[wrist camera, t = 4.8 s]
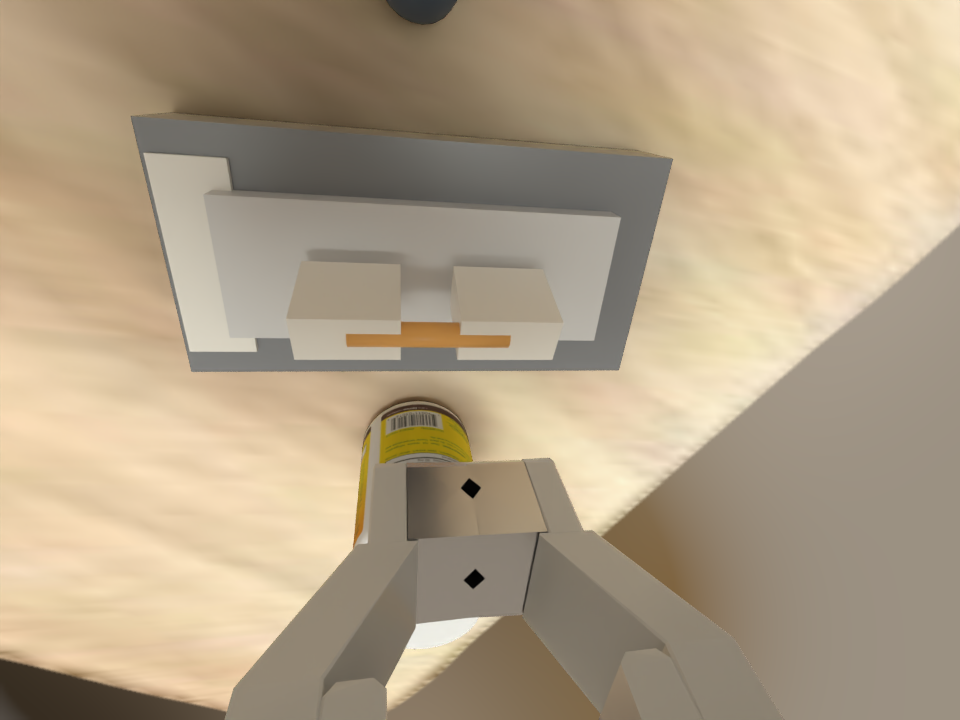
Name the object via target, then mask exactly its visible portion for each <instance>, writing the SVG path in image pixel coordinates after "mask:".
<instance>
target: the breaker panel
mask: <svg viewBox="0 0 960 720" xmlns="http://www.w3.org/2000/svg"><path fill="white" fill-rule="evenodd" d="M131 120H132V124H133V128H134V132H135V136H136V141H137V145H138V149H139V153H140V157H141V162H142V166H143V170H144V174H145V178H146V183H147V187H148V191H149V195H150V199H151V204H152V208H153V212H154V216H155V220H156V225H157V229H158V233H159V237H160V241H161V246H162V250H163V254H164V258H165V262H166V267H167V271H168V275H169V279H170V283H171V288H172V292H173V296H174V300H175V304H176V309H177V313H178V317H179V321H180V325H181V330H182V334H183V338H184V342H185V346H186V351H187V355H188V359H189V363H190V367H191V371H192V372H253V371H549V370H619V368H620V364H621V360H622V356H623V352H624V348H625V344H626V340H627V336H628V333H629V329H630V325H631V321H632V317H633V313H634V309H635V305H636V301H637V297H638V294H639V290H640V286H641V282H642V278H643V274H644V270H645V266H646V262H647V258H648V254H649V251H650V247H651V243H652V239H653V235H654V231H655V227H656V223H657V219H658V215H659V211H660V208H661V204H662V200H663V196H664V192H665V188H666V184H667V180H668V176H669V172H670V169H671V165H672V161H673V159H671V158H667V157H663V156H658V155H654V154H650V153H646V152H642V151H637V150H624V149H612V148H600V147H588V146H575V145H563V144H551V143H538V142H526V141H514V140H501V139H489V138H477V137H464V136H452V135H440V134H428V133H415V132H403V131H391V130H378V129H366V128H354V127H341V126H329V125H317V124H305V123H292V122H280V121H268V120H255V119H243V118H231V117H218V116H206V115H194V114H181V113H161V114H149V115H137V116H131ZM301 261H319V262H348V263H377V264H401V322H452V315H451V307H450V298H451V287H452V277H453V266H465V267H494V268H523V269H543V271H544V273H545V276H546V279H547V281H548V284H549V286H550V289H551V291H552V294H553V297H554V299H555V302H556V304H557V307H558V309H559V312H560V315H561V317H562V320H563V322H564V324H563V327H562V330H561V333H560V337H559V340H558V343H557V346H556V350H555V353H554V356H553V359H552V360H457V354H456V348H418V347H401V360H294V356H293V351H292V346H291V341H290V336H289V332H288V327H287V322H286V317H287V313H288V309H289V305H290V301H291V298H292V294H293V290H294V286H295V283H296V279H297V275H298V271H299V268H300V264H301Z"/></svg>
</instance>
